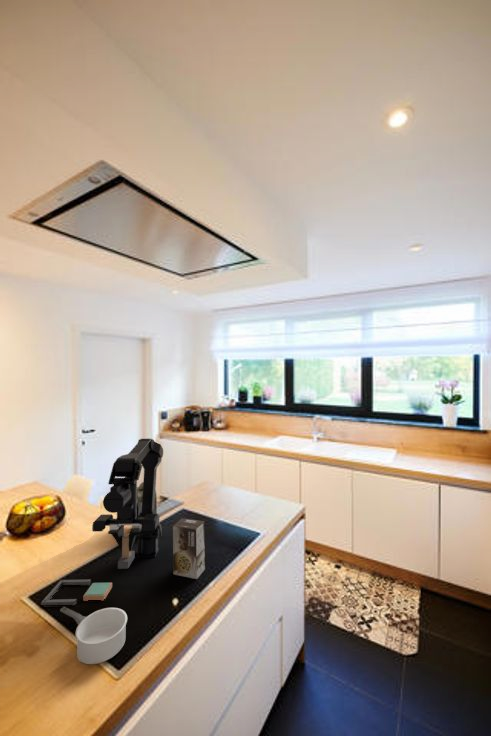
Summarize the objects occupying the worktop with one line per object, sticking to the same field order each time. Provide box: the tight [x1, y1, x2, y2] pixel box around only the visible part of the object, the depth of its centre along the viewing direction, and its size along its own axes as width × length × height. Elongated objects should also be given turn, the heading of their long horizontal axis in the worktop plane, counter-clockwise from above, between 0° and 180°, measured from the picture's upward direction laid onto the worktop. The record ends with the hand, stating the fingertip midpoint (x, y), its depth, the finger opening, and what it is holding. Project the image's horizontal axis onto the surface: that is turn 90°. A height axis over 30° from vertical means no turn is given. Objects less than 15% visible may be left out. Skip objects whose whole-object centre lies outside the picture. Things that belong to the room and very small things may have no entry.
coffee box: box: [172, 517, 206, 580], centre depth 107 cm, size 9×6×16 cm
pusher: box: [117, 533, 136, 570], centre depth 96 cm, size 3×6×8 cm, turn 1°
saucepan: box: [59, 606, 128, 665], centre depth 78 cm, size 12×20×6 cm, turn 66°
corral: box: [40, 578, 92, 607], centre depth 95 cm, size 10×10×1 cm
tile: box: [82, 582, 113, 602], centre depth 96 cm, size 6×6×2 cm
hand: (126, 550), depth 96 cm, fingers closed on pusher, 2 cm apart
